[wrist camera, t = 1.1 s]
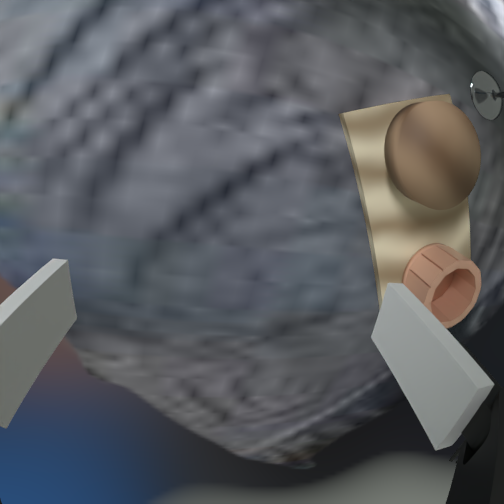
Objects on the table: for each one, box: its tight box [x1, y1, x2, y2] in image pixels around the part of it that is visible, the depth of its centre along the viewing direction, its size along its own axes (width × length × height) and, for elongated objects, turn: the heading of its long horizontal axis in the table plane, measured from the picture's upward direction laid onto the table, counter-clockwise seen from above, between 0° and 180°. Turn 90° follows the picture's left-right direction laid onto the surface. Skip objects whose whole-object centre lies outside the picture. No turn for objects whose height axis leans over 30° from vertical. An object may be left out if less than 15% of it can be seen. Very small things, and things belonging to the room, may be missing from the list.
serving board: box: [339, 94, 471, 309], centre depth 35 cm, size 28×15×2 cm, turn 18°
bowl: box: [402, 243, 481, 328], centre depth 34 cm, size 9×9×6 cm
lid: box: [384, 101, 481, 210], centre depth 27 cm, size 11×11×3 cm
